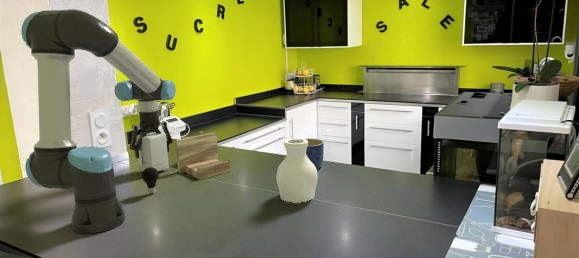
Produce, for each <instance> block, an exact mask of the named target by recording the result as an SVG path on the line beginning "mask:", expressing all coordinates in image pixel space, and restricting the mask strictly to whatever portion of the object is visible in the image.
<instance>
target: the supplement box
mask: <svg viewBox="0 0 579 258" xmlns="http://www.w3.org/2000/svg"><path fill="white" fill-rule="evenodd" d="M139 138H141V137H140V134H139V135H138V134H137V139H136V143H137V141H138V139H139ZM166 140H167V138H166V134H165V133H162V134H157V133H149V134H147V135H146V136H145V137H142V144H141V146H140V148H139V150H141V156H142V166H140V165H138V172H139V171H140V172H143V171H144V170H145V169H146V168H148V167H153V168H155V169H157V171H158V172H160V171H163V170H166V169H169V155H168V154H169V153H167V142H166Z"/></svg>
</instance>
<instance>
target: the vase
mask: <svg viewBox="0 0 579 258" xmlns="http://www.w3.org/2000/svg"><path fill="white" fill-rule="evenodd" d="M306 139H307V138H297V137H296V138H289V139H286V140H284V141H283V145H284V149H285V151H286V155H285V158H284V159H283V160H282V162H281V163H280V164H279V166H277V170H276V175H275V176H276V177H275V178H276V183H277V187H278V191H279V195H280V196H279V198H280V200H282V201H283V200H284V201H283V202H285V201H286V202H285V203H289V202H292V203H291V204H302V203H301V202H304V203H307V202H306V201H308V202H310V201H309V200H311V199H313V198H314V197H315V195H316V194H315V193H316V188H317V184H318V169H316V167H315V166H314V164H313V163H312V162H311V161H310V160H309V159H308V157H307V155H306V149H307V146H308V140H306ZM314 199H315V198H314ZM314 199H313V200H314ZM311 201H312V200H311Z"/></svg>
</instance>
